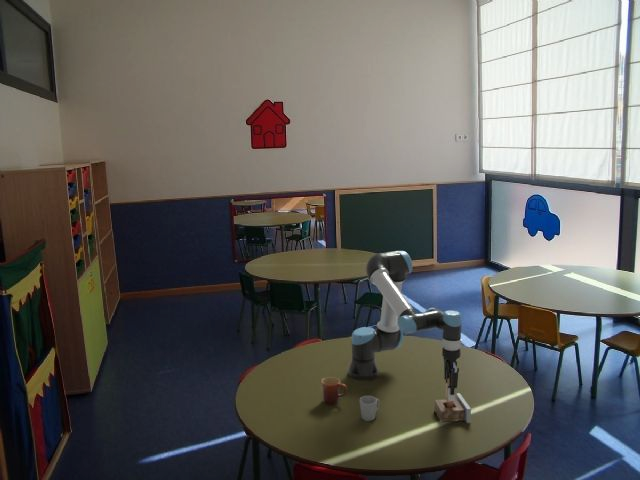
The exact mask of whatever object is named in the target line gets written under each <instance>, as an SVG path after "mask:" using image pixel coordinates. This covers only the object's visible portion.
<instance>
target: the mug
mask: <svg viewBox="0 0 640 480" xmlns="http://www.w3.org/2000/svg"><path fill="white" fill-rule="evenodd" d="M320 383H321V385H322V400H323V403H325V404H326V405H328V406H331V405H332V406H334V405H336V404H338V403H339V402H340V398H342V397H344V396H345V395H346V394H347V392H348V386H347V384H345V383H341V380H340V378H338V377H334V376H328V377H324V378H322V379H321V382H320ZM340 387H344V392H343V393H340Z"/></svg>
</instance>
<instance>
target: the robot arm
mask: <svg viewBox="0 0 640 480" xmlns="http://www.w3.org/2000/svg"><path fill="white" fill-rule="evenodd" d="M412 261H413V260H412V258H411V256H410V255H409V253H407V252H406V251H404V250H395V251H387V252H379V253H375V254H373V255H372V256H371V257H369V259H368V261H367V262H366V266H365V272H366V276H367V278H368V280H369V282H370V283H371V284H372V285H375V286H376V288H377V289H378V291H379V293H380V294H381V295H382V304H381V313H380V319H379V321H378V322H377V324H376V329H374V328H373V327H370V326H363V327H359V328H356V329H355V330H353V331H352V333H351V341H350V342H351V361H350V365H349V366H348V367H349V368H348V376H349V377H351V378H352V379H355V380H359V381H368V380H373V379H376V378H377V377H379V368H378V365H377V363H376V354H377V353H382V352H386V351H387V352H388V351H393V350H396V349H399V348H401V346H402V344H403V342H404V335H406V334H414V333H417V332H422V331H428V330H433V329H438V330H439V331H442V341H441V343H442V344H441V345H442V352H441V355H442V357H443V369H444V370H443V371H444V374H443V375H444V377H443V378H444V380H445V398H446V399H447V379H448V378H449V386H448V401H455V399H456V389H457V388H458V382H459V381H458V379H459V372H460V368H459V367H457V366H458V361H457V360H458V359H459V358H461V347H462V346H461V345H462V344H461V343H462V342H463V340H462V337H461V336H462V314H461V312H459V311H457V310H446V311H443V310H441V309H439V308H435V307H429V308H427V309H425V311H424V312H418V313H417V312H416V311H415V309H414V308H413V307H412V305H411V303H410V302H409V301H408V300H407V298H406V297H405V296H404V294H403V293H402V290H403V289H402V288H403V283H404V282H405V281H406V280H407V275H410V274H411V273H412V271H413V262H412Z"/></svg>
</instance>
